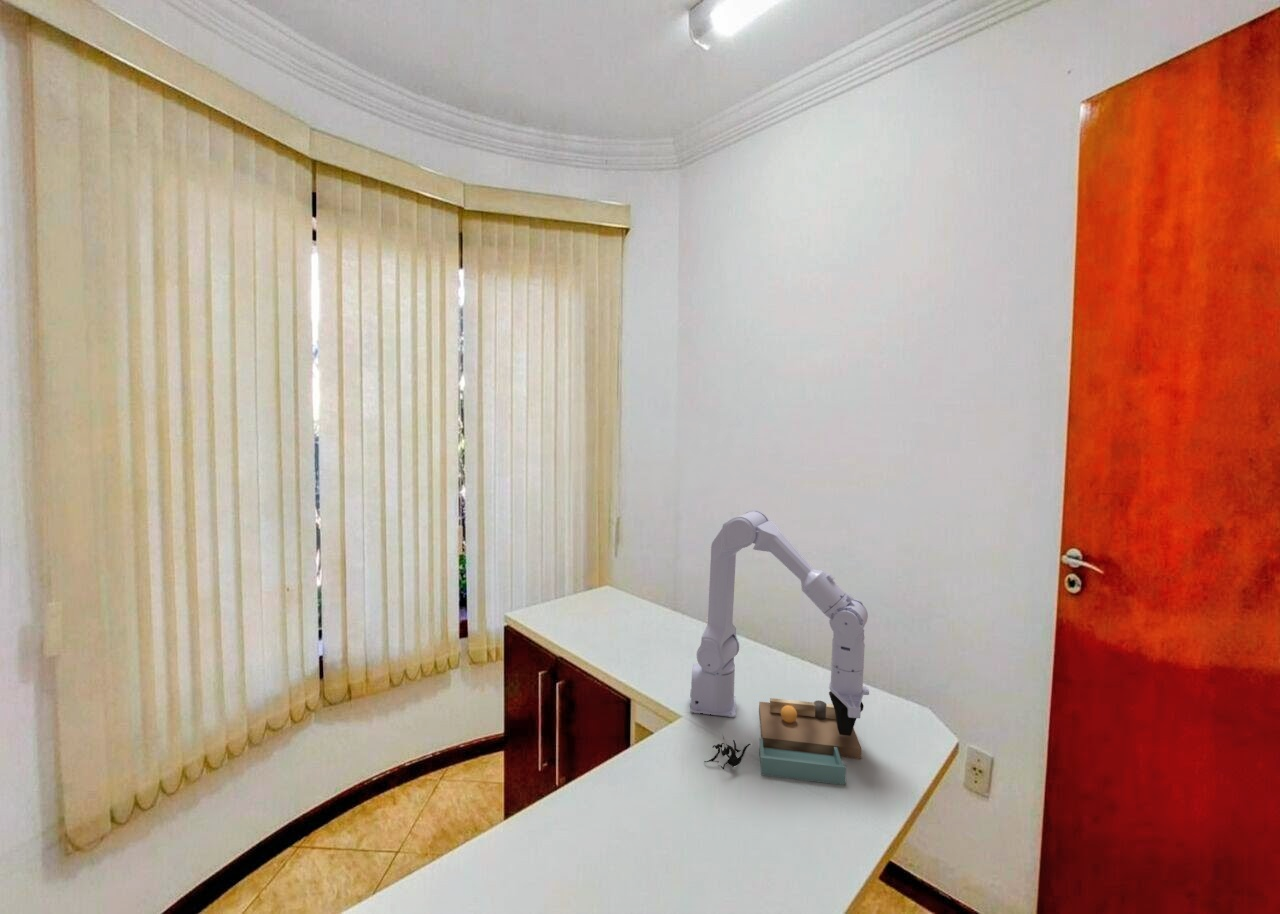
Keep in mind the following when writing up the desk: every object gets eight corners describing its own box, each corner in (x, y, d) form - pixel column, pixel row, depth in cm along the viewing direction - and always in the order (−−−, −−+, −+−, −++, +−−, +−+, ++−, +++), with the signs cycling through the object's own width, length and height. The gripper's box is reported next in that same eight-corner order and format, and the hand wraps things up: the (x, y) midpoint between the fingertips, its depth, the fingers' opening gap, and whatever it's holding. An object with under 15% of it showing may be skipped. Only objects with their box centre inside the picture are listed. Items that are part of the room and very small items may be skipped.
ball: (781, 725, 105) (781, 709, 105) (779, 716, 108) (780, 701, 108) (797, 727, 105) (798, 711, 104) (795, 717, 108) (796, 702, 108)
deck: (762, 747, 101) (762, 737, 101) (759, 710, 114) (759, 701, 114) (861, 759, 98) (861, 748, 98) (846, 719, 111) (846, 710, 111)
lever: (770, 713, 109) (770, 699, 109) (769, 707, 111) (769, 693, 111) (846, 721, 106) (847, 707, 106) (844, 715, 109) (844, 701, 108)
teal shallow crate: (761, 774, 94) (761, 757, 93) (759, 748, 101) (759, 732, 101) (845, 785, 91) (845, 767, 91) (836, 757, 99) (837, 740, 98)
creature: (697, 762, 99) (721, 779, 91) (694, 732, 99) (718, 747, 92) (732, 751, 102) (757, 767, 95) (729, 722, 103) (754, 735, 95)
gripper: (880, 686, 92) (876, 759, 93) (860, 650, 107) (857, 714, 108) (837, 682, 94) (834, 754, 95) (824, 647, 108) (821, 710, 109)
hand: (844, 733), depth 101 cm, fingers closed
